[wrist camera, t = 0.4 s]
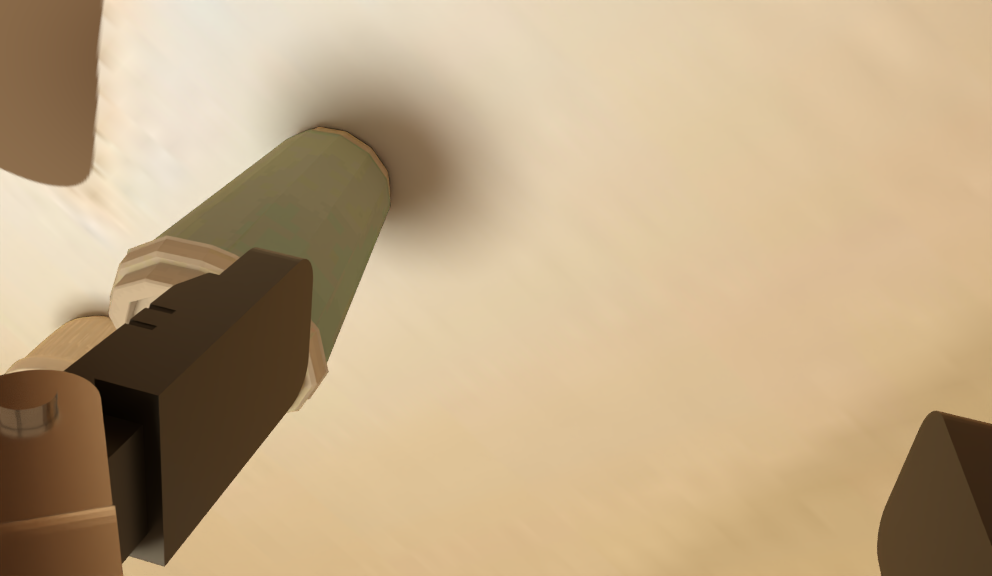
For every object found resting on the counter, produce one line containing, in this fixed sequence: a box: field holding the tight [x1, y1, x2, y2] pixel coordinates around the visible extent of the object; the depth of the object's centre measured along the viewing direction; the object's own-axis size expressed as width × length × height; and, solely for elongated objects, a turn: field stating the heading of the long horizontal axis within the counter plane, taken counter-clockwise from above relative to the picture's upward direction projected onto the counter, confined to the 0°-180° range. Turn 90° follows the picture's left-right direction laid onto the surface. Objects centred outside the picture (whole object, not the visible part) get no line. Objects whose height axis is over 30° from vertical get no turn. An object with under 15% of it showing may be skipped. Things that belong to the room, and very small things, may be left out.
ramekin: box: [5, 316, 116, 374], centre depth 69 cm, size 13×13×7 cm
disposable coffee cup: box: [108, 127, 391, 413], centre depth 46 cm, size 11×11×15 cm
